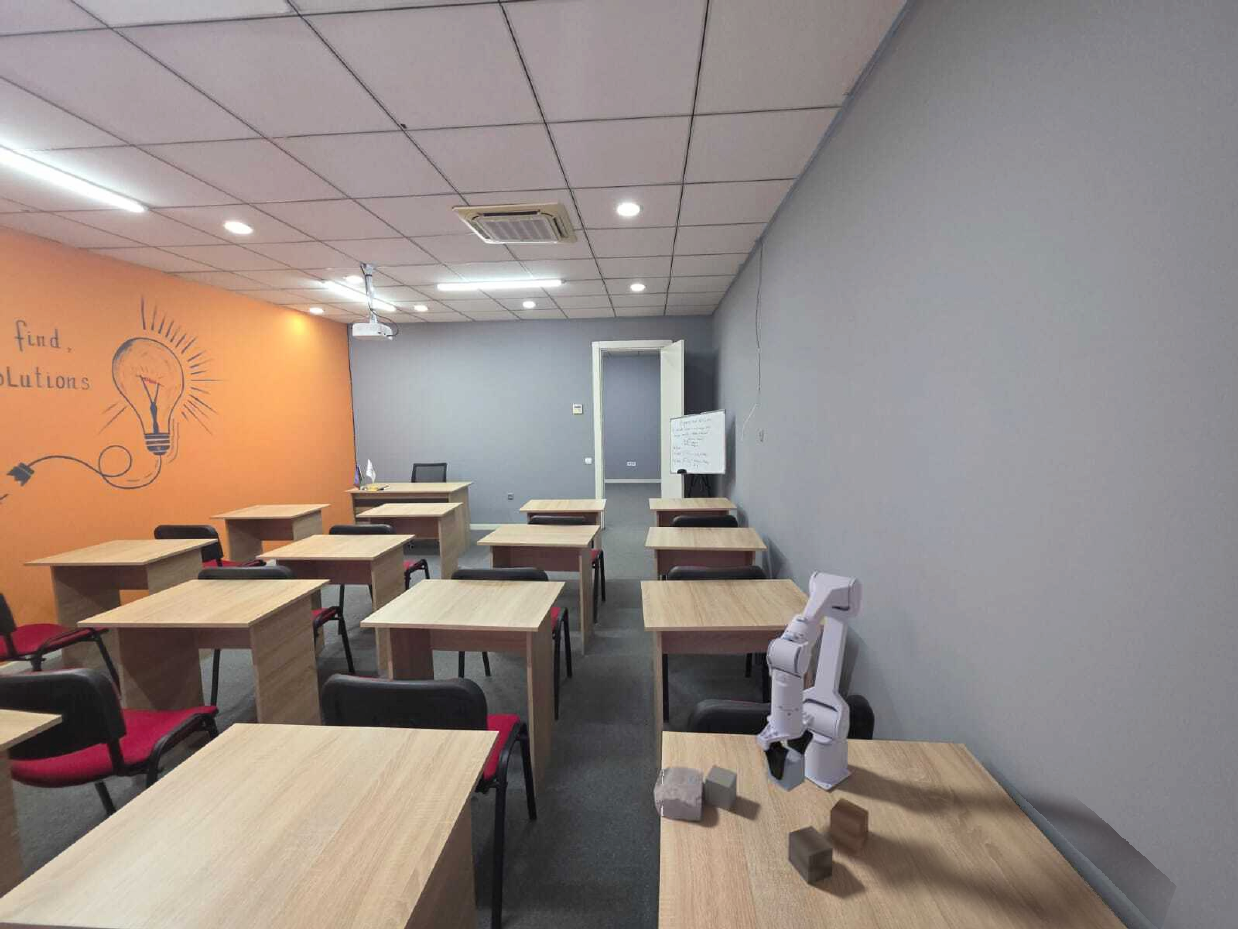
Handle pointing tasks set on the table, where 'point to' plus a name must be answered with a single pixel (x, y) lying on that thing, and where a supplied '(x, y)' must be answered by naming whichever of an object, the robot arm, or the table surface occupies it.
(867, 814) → the walnut cube
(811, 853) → the ebony cube
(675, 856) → the table surface
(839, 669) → the robot arm
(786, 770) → the slate blue cube
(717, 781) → the grey cube
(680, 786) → the stone block
